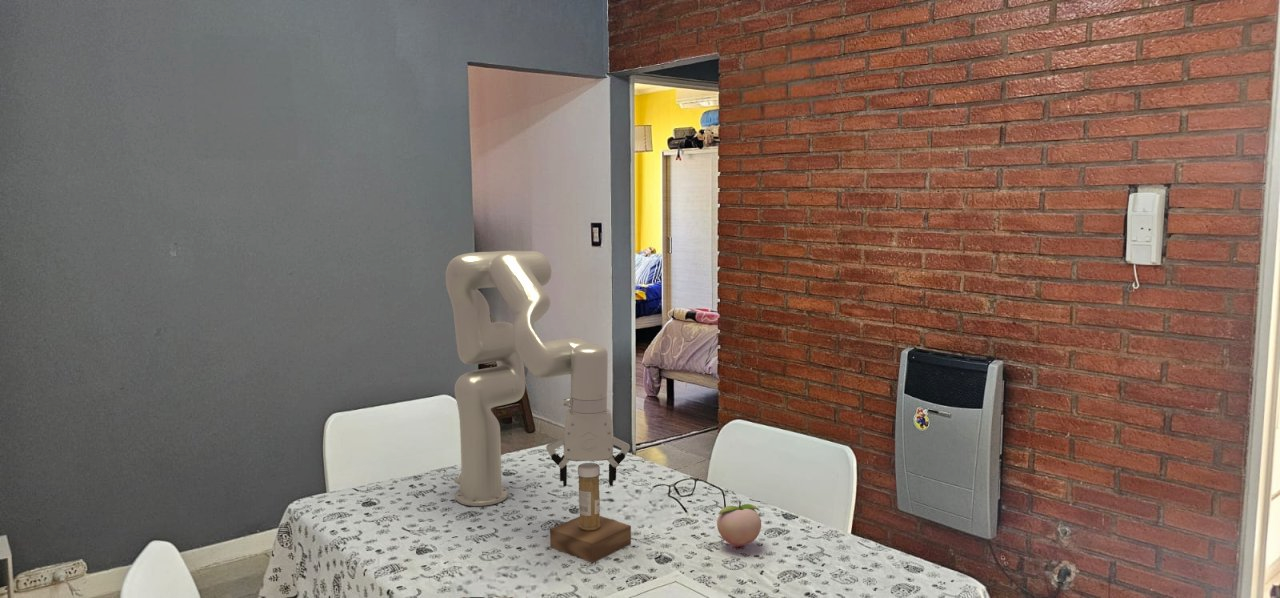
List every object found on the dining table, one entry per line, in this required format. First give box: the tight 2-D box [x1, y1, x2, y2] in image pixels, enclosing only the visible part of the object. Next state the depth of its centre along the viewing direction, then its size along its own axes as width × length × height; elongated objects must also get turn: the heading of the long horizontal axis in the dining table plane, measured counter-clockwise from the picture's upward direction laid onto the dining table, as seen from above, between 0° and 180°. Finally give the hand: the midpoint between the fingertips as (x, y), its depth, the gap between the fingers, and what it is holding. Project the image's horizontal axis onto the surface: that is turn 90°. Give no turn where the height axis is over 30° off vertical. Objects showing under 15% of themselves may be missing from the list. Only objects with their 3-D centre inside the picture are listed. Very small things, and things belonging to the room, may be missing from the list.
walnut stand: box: [549, 515, 632, 564], centre depth 178 cm, size 12×12×4 cm
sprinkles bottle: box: [577, 462, 601, 531], centre depth 177 cm, size 5×5×14 cm
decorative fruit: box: [716, 501, 762, 548], centre depth 176 cm, size 9×8×10 cm
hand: (587, 483), depth 177 cm, fingers open, 9 cm apart
